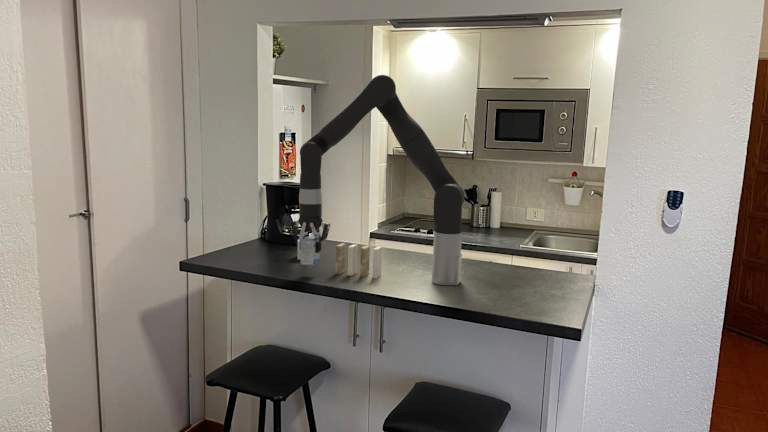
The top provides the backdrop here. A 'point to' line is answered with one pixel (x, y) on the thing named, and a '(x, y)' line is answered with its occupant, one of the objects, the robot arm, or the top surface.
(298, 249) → the skincare box
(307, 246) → the medicine box
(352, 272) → the domino
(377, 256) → the domino
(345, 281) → the top surface
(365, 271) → the domino
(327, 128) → the robot arm
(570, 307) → the top surface
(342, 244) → the domino
